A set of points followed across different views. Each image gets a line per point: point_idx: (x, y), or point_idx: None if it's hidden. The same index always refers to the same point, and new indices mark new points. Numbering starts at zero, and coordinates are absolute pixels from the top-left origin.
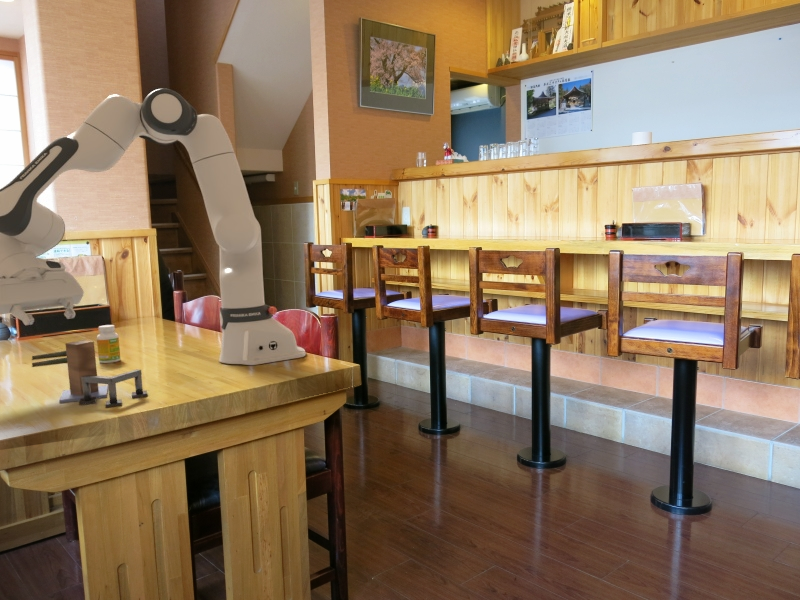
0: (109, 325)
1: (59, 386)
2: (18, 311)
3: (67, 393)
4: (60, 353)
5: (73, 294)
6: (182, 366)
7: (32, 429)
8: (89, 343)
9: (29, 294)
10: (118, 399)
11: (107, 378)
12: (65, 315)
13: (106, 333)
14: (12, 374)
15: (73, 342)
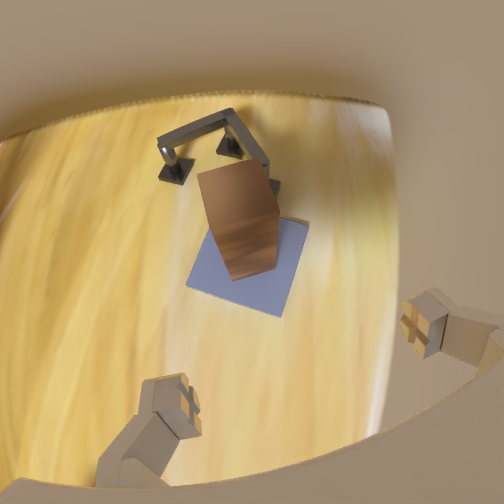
0: None
1: (267, 406)
2: (493, 314)
3: (280, 276)
4: None
5: (61, 491)
6: (20, 349)
7: (360, 117)
8: (213, 172)
9: (492, 439)
10: (220, 151)
11: (235, 112)
12: (198, 417)
13: None
14: None
15: (251, 208)
